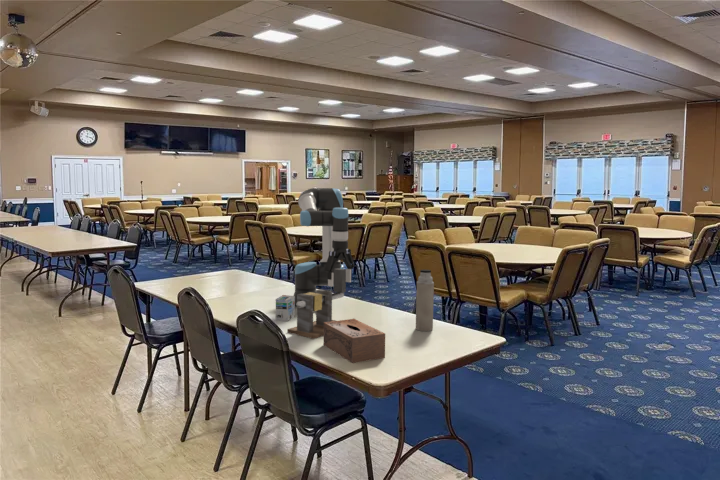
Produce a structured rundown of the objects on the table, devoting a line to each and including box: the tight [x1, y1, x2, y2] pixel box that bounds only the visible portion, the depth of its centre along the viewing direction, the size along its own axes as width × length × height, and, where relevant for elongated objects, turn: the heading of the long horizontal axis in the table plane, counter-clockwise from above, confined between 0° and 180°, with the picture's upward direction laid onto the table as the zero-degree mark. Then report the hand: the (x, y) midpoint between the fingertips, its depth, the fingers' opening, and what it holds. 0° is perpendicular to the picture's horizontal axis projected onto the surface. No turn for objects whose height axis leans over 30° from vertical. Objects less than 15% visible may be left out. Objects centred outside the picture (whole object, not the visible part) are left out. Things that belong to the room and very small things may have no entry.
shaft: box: [296, 268, 347, 308], centre depth 255 cm, size 30×5×14 cm, turn 143°
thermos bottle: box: [415, 269, 435, 332], centre depth 258 cm, size 8×8×28 cm
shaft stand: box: [287, 288, 336, 339], centre depth 256 cm, size 26×16×18 cm, turn 143°
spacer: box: [305, 292, 322, 312], centre depth 251 cm, size 5×7×7 cm
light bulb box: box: [275, 294, 296, 322], centre depth 276 cm, size 11×7×11 cm, turn 168°
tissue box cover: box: [322, 318, 386, 364], centre depth 224 cm, size 26×14×10 cm, turn 29°
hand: (339, 284), depth 266 cm, fingers open, 13 cm apart
